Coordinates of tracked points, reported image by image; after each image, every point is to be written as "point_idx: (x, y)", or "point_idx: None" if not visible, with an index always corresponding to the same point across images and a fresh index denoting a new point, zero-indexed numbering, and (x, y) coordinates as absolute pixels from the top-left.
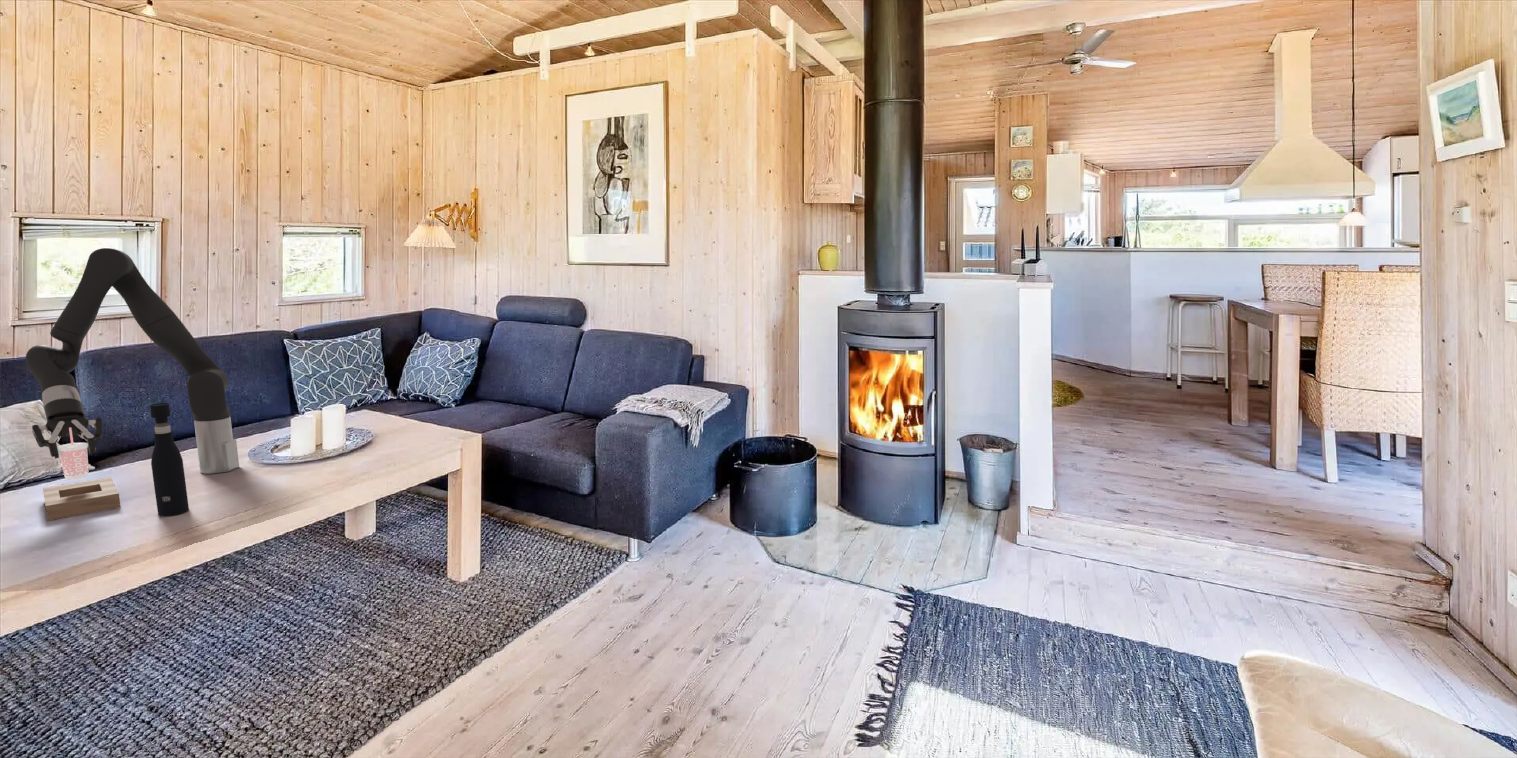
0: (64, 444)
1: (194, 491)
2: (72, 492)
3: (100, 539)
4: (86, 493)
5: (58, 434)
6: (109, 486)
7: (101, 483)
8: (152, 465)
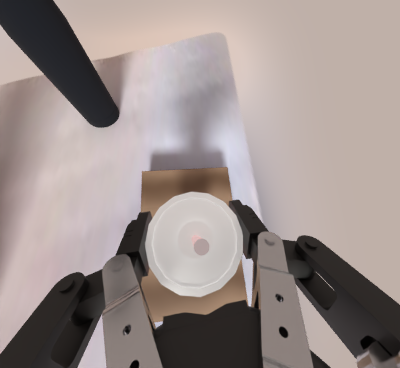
0: (223, 284)
1: (49, 199)
2: None
3: (174, 77)
4: None
5: (259, 273)
6: None
7: None
8: (68, 23)
